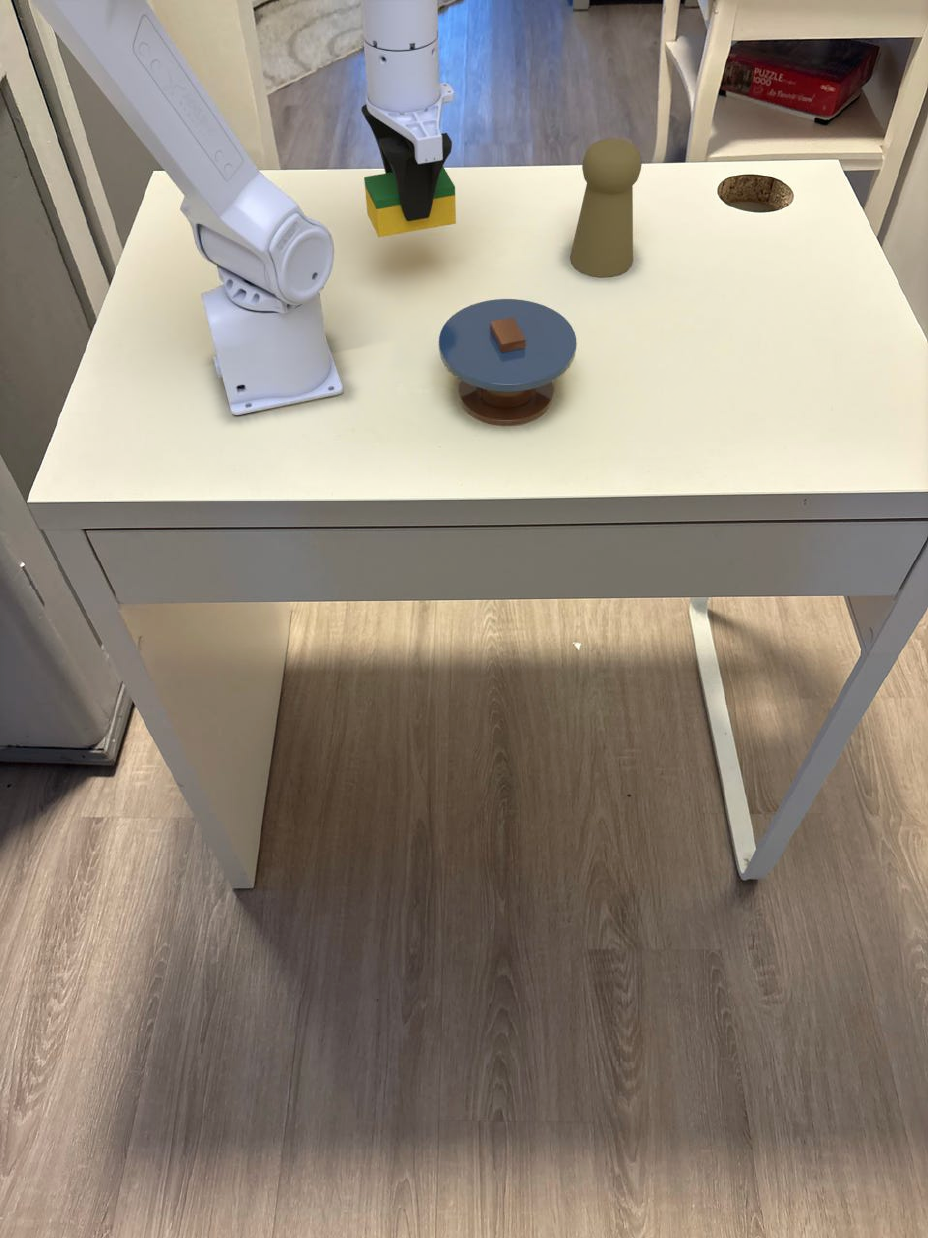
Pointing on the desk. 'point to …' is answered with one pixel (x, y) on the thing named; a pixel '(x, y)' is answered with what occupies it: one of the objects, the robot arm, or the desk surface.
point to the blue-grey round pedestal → (507, 360)
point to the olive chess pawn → (607, 209)
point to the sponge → (389, 212)
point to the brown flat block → (507, 335)
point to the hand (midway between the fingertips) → (410, 204)
